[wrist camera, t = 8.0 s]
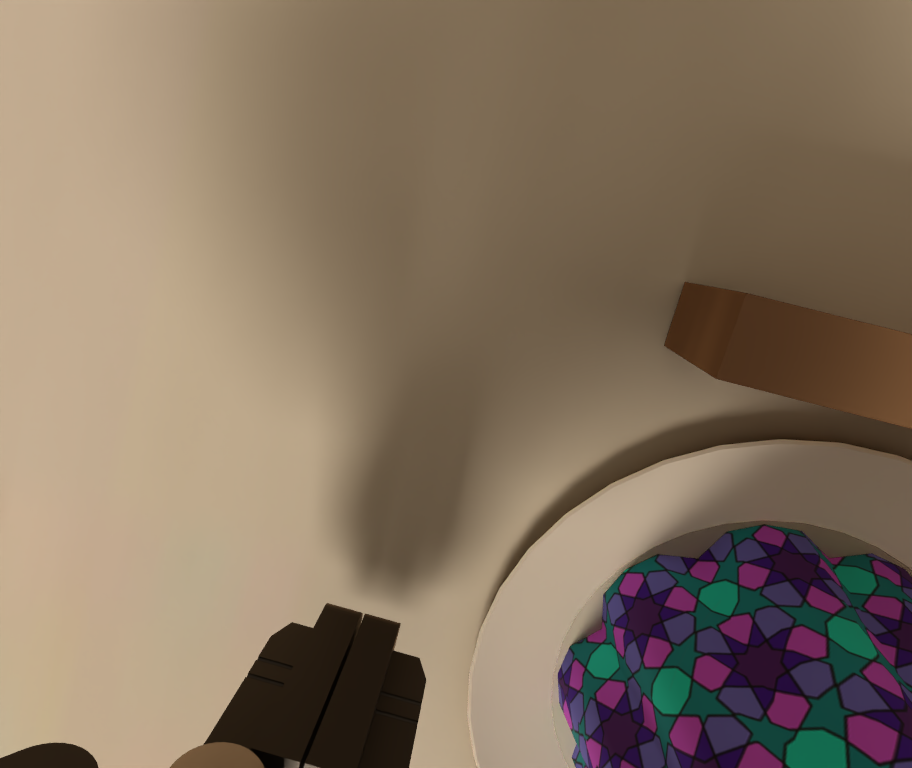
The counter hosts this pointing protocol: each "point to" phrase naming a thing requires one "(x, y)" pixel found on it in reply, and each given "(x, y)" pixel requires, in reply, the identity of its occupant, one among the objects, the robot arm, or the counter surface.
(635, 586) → the pudding
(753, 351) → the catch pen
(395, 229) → the counter surface
